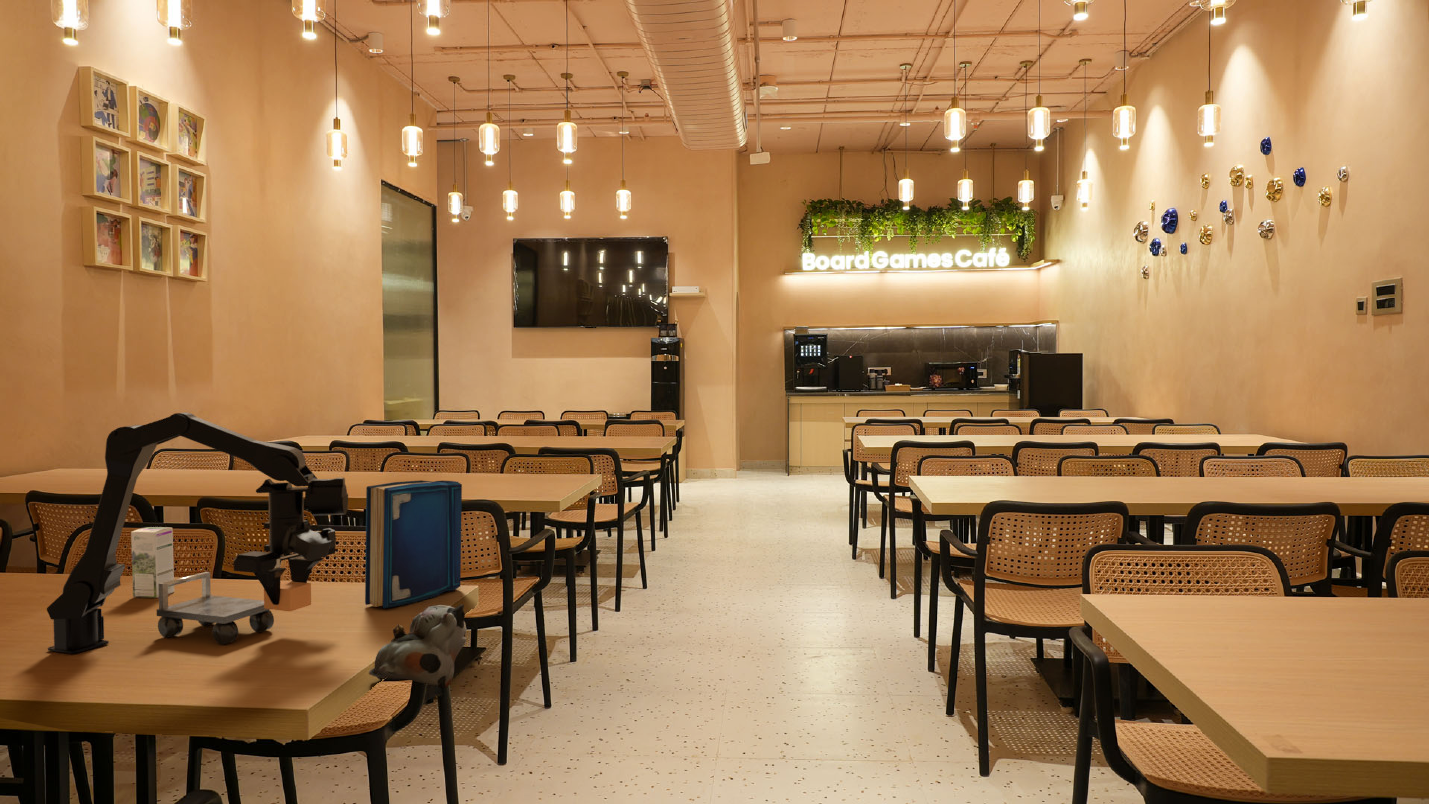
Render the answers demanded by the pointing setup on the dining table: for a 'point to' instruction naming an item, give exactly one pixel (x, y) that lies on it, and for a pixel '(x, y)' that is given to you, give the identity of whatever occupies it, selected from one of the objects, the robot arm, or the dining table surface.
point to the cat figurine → (424, 648)
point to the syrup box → (151, 560)
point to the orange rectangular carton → (290, 596)
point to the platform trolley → (210, 611)
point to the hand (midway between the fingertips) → (287, 601)
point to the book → (412, 541)
